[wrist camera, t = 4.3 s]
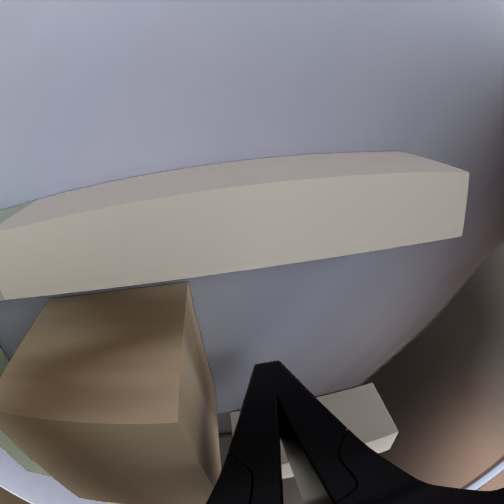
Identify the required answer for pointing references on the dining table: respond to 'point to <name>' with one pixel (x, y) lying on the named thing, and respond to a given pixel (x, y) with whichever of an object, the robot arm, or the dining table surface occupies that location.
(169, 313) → the block
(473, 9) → the dining table surface
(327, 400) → the angular open frame
